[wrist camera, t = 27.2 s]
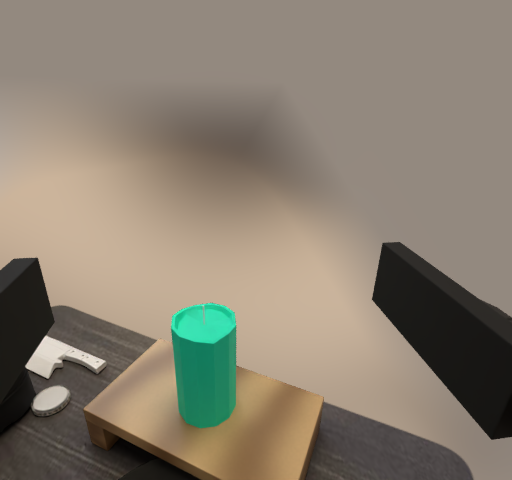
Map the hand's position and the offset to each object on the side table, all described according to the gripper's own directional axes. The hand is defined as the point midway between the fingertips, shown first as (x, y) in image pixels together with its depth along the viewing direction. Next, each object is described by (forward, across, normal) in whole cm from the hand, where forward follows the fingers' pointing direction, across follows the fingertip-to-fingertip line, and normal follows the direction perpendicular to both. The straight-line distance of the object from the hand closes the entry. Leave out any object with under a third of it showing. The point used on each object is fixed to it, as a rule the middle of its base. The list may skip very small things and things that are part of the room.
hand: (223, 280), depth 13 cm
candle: (+14, -1, -23) cm, 27 cm away
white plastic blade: (+28, -22, -28) cm, 45 cm away
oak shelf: (+14, -1, -28) cm, 31 cm away
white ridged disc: (+21, -20, -28) cm, 40 cm away
